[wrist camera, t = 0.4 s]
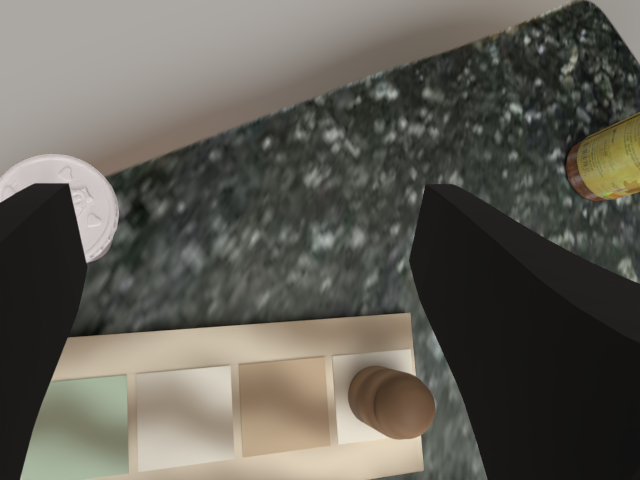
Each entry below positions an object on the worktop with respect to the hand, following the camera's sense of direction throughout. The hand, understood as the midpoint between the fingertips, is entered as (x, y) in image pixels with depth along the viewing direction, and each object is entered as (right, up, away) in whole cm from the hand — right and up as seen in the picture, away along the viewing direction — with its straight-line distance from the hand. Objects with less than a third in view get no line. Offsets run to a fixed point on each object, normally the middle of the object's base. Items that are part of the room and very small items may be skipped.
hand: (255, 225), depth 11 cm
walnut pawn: (+6, -12, +29) cm, 32 cm away
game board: (-5, -13, +27) cm, 30 cm away
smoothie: (-15, 0, +27) cm, 31 cm away
